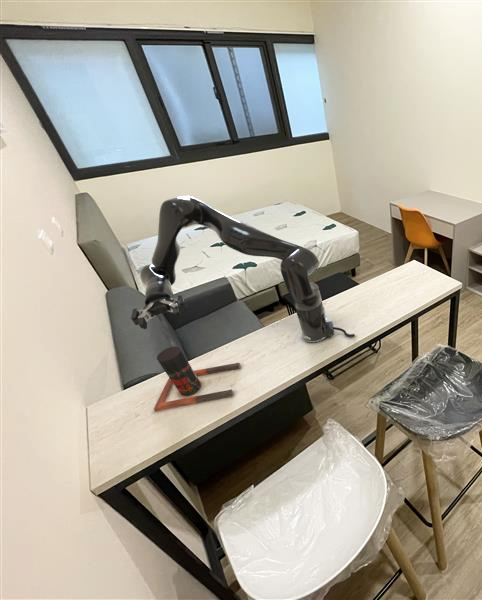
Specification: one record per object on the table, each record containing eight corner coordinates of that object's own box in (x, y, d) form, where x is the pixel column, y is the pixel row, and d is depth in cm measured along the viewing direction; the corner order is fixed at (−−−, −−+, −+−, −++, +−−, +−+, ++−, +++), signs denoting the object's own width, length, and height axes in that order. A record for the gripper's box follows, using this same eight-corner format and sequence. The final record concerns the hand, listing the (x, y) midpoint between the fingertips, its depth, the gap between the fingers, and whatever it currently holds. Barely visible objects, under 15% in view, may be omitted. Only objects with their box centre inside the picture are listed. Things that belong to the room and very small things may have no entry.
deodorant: (176, 391, 100) (152, 356, 91) (195, 378, 104) (174, 344, 95) (186, 399, 97) (163, 364, 88) (205, 386, 101) (184, 351, 92)
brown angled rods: (240, 365, 108) (239, 362, 107) (232, 396, 97) (230, 393, 96) (171, 378, 104) (169, 375, 104) (155, 411, 94) (152, 408, 93)
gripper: (128, 294, 103) (125, 320, 92) (178, 279, 109) (181, 302, 98) (140, 312, 107) (139, 340, 96) (187, 298, 113) (191, 321, 102)
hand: (160, 321), depth 97 cm, fingers open, 8 cm apart
